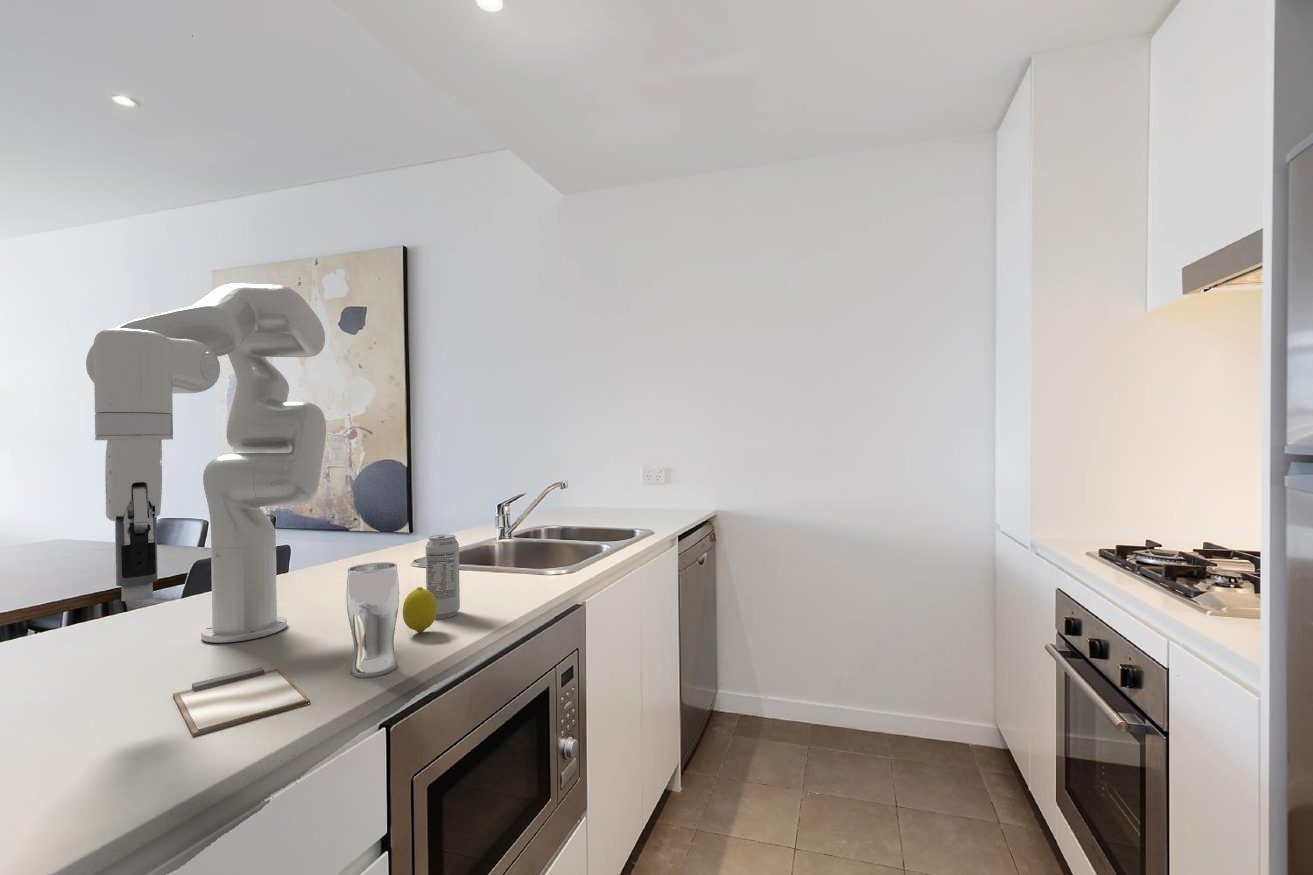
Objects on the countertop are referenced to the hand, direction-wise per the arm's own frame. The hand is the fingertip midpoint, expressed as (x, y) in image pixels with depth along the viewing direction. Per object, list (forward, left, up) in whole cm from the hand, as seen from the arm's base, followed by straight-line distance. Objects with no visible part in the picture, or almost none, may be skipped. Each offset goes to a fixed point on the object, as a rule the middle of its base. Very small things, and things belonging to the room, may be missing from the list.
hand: (137, 571), depth 78 cm
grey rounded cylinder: (0, 0, -3) cm, 3 cm away
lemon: (-3, +37, -17) cm, 41 cm away
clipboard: (+7, +9, -17) cm, 21 cm away
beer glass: (+9, +25, -17) cm, 32 cm away
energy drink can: (-11, +45, -17) cm, 50 cm away
